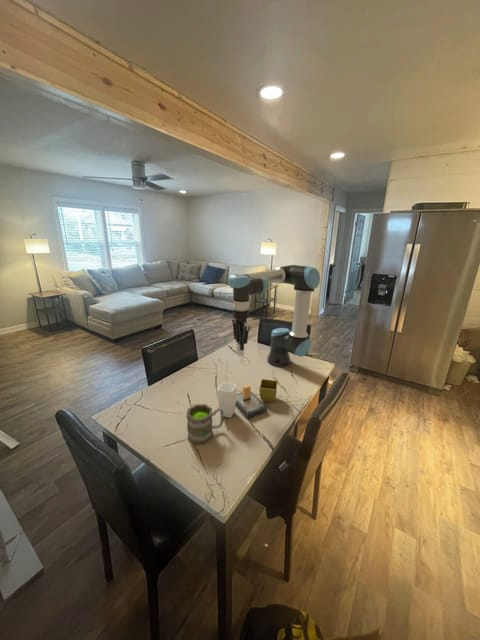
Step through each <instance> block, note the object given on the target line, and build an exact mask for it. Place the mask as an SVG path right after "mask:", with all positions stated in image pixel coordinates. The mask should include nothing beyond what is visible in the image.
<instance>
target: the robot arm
mask: <svg viewBox="0 0 480 640" xmlns="http://www.w3.org/2000/svg"><path fill="white" fill-rule="evenodd" d="M227 280H228V281H227V282H228V286H229V287H230V288H231V289H232V300H233V301H232V302H233V303H232V308H233V309H232V317H233V318H234V319H232V320H231V323H232V331H233V339H234V340H235V342H236V355H237V356H238V357H241V356H244V355H245V354H244V352H245V345H247V344H248V338H249V331H250V329H251V326H250V325H248V322H247V321H248V319H249V317H250V310H249V309H250V296H253V295H261V294H265V293H266V292H268V290H269V287H270V285H271V284H288V285H292V286H293V290H294V291H295V298H294V299H295V301H294V308H293V317H292V318H293V319H292V325H291V330H290V328H286V327H278V328H274V329H272V330H271V335H270V350H269V354H268V355H267V361H266V362H267V363H268V364H269V365H271V366H274V367H281V368H283V367H287V366H289V365H290V363H291V359H290V358H291V357H290V354H292V355H294V356H298V357H302V358H303V357H305V356H306V355H307V354H308V353H309V352H310V351H311V347H312V341H311V340H310V339H309V334H308V332H307V329H308V328H307V327H308V319H309V315H310V314H309V312H310V305H311V299H312V298H311V296H312V293H314V292H315V289H317V288H318V287H319V285H320V282H321V274H320V272H319V269H318V268H316V267H312V266H308V265H307V266H305V265H298V264H297V265H296V264H290V265H284V266H279V267H275V268H274V269H270V270H265V271H263V270H262V271H258V272H252V273H251V272H250V273H245V274H237V273H236V274H231V275H230V276H229V277H228V279H227Z"/></svg>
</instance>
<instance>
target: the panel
mask: <svg viewBox="0 0 480 640" xmlns="http://www.w3.org/2000/svg"><path fill="white" fill-rule="evenodd" d="M250 395H251V398H248V399H245V400H243V399H242V397H243V391H242V392H239V393H236V406H235V408H237V410H239V412H240V413H241V414H242V415H243V416H244V417H245V418H246V420H250V419H253V418H255V417H257V416H259V415H263V414H265V413H267V412H268V406H267V404H265V403H264V401H262V399H261V398H259V397H258V396H256V395H255V394H254V393H253V392H252V390H251V391H250Z"/></svg>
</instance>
